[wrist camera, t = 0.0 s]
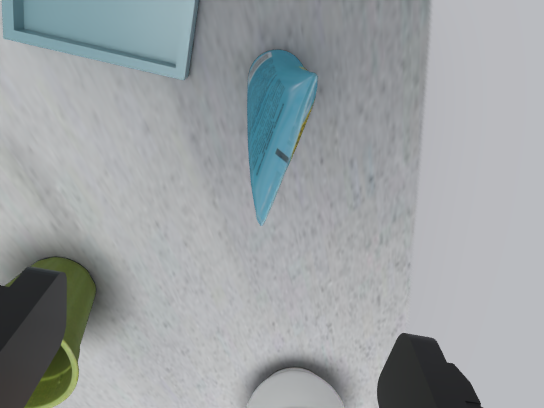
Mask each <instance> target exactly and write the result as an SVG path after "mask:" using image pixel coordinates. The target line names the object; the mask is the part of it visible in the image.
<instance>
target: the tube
mask: <svg viewBox="0 0 544 408" xmlns="http://www.w3.org/2000/svg"><path fill="white" fill-rule="evenodd" d="M317 79H318V76H317V74H316V73H313V72H309V71H307V70H306V69H305V68H304V67H303V65H302V64H301V62H300V61H299V60H298V58H297V57H295V56H294V55H293V54H291V53H289V52H287V51H284V50H271V51H267V52H265V53H263V54H261V55H260V56H259V57H258V58H257V59H256V60H255V61H254V62H253V64H252V66H251V68H250V71H249V75H248V93H247V118H248V151H249V166H250V177H251V186H252V193H253V199H254V205H255V210H256V216H257V220H258V223H259V224H260V225H261V226H263V224H264V222H265V220H266V218H267V215H268V213H269V211H270V209H271V207H272V204H273V202H274V199H275V197H276V194H277V191H278V189H279V186H280V184H281V182H282V179H283V176H284V173H285V171H286V169H287V167H288V165H289V163H290V161H291V159H292V156H293V154H294V152H295V149H296V147H297V145H298V142H299V140H300V137H301V134H302V132H303V130H304V127H305V124H306V122H307V119H308V117H309V114H310V112H311V109H312V106H313V103H314V100H315V96H316V91H317Z"/></svg>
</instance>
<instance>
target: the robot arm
mask: <svg viewBox="0 0 544 408" xmlns="http://www.w3.org/2000/svg"><path fill="white" fill-rule="evenodd" d="M66 316H67V277H66V274H65V273H64V272H60V271H54V270H48V269H43V268H37V267H27V268H26V269H25V270H24V271H23V272H22V273H21V274H20V275H19V276H18V278H17V279H16V280H15V281H14V282H13V283H12V284H11V285H10V287H7V286H1V285H0V408H24V407H25V405H26V404H27V402H28V400H29V398H30V397H31V395H32V393H33V392H34V390H35V388H36V387H37V385H38V383H39V382H40V380H41V378H42V377H43V375H44V373H45V372H46V370H47V368H48V367H49V365H50V363H51V362H52V360H53V358H54V356H55V355H56V353H57V351H58V350H59V347H60V345H61V343H62V340H63V337H64V334H65V329H66ZM377 398H378V404H379V408H483V407H481V406H480V405H481V403H480V401H479V399H478V397H477V395H476V393H475V391H474V389H473V387H472V385H471V383H470V382H469V381H468V380H467V378H466V377H465V376H464V375H463V374H462V373H461V372H460V371H459V369H458V368H457V367H456V366H455V365H454V364H453V363H447V362H446V360H445V358H444V355H443V353H442V351H441V349H440V347H439V345H438V343H437V341H436V340H435V339H433V338H429V337H424V336H418V335H412V334H407V333H402V334H400V335H399V337H398V338H397V340H396V342H395V344H394V347H393V349H392V351H391V353H390V355H389V357H388V359H387V361H386V364H385V366H384V368H383V370H382V372H381V374H380V377H379V380H378V386H377Z"/></svg>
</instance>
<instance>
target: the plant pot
mask: <svg viewBox="0 0 544 408" xmlns="http://www.w3.org/2000/svg"><path fill="white" fill-rule="evenodd" d="M30 267H37V268H43V269H48V270H54V271H60V272H64V273H65V274H66V277H67V316H66V329H65V334H64V337H63V340H62V343H61V345H60V347H59V350H58V351H57V353H56V355H55V356H54V358H53V360H52V362H51V363H50V365H49V367H48V368H47V370H46V372H45V373H44V375H43V377H42V378H41V380H40V382H39V383H38V385H37V387H36V388H35V390H34V392H33V393H32V395H31V397H30V398H29V400H28V402H27V404H26V405H25V407H24V408H52V407H54V406H56V405H58V404H60V403H61V402H63V401H64V400H65V399H67V398H68V397H69V396H70V395H71V393H72V392H73V390H74V389H75V387H76V384H77V381H78V376H79V368H78V358H79V353H80V344H81V340H82V337H83V334H84V331H85V327H86V324H87V321H88V317H89V314H90V311H91V307H92V304H93V301H94V298H95V294H96V287H95V283H94V282H93V281H92V279H91V277H90V275H89V273H88V271H87V270H86V269H85V268H83V267H82V266H81V265H79V264H77V263H76V262H74V261H71V260H68V259H65V258H59V257H52V258H48V259H44V260H40V261H37V262H36V263H34V264H33V265H32V266H30ZM18 276H19V275H18ZM18 276H17V277H16V278H14V279H13V280H12V281H10V282H9V283H8V284H6V285H5V286H7V287H10V285H11V284H12V283H13V282H14V281H15V280H16V279H17V278H18Z"/></svg>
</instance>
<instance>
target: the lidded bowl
mask: <svg viewBox="0 0 544 408" xmlns="http://www.w3.org/2000/svg"><path fill="white" fill-rule="evenodd" d="M246 408H345V407H344V404H343V402H342V400H341V398H340V397H339V395H338V394H337V392H336V391H335V390H334V388H333V387H332V386H331V385H330V384H329V383H327V382H326V381H325V380H324V379H322V378H320V377H319V376H317V375H316V374H314V373H313V372H311V371H309V370H307V369H303V368H296V367H293V368H285V369H281V370H279V371H277V372H275V373H273V374H272V375H271V376H270V377H269V378H268V379H266V380H265V381H264V382H262V383H261V384H260V385H259V386H258V387H257V388H256V390H255V391H254V392H253V394H252V396H251V397H250V399H249V401H248V404H247V406H246Z"/></svg>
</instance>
